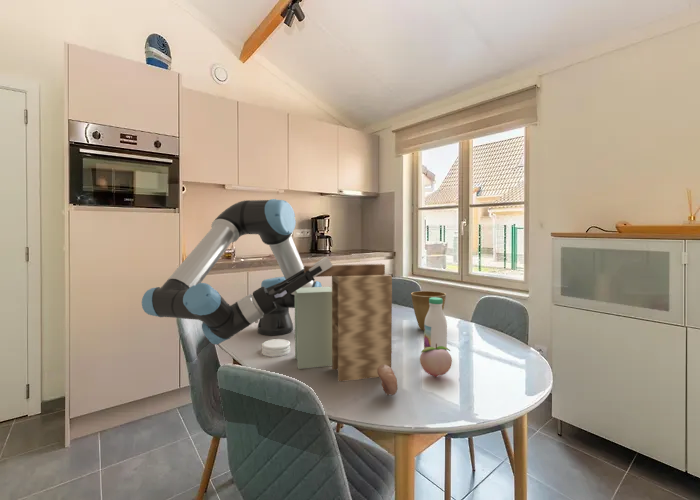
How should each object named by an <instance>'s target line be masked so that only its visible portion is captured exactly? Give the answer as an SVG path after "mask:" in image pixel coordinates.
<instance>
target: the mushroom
mask: <svg viewBox="0 0 700 500" xmlns="http://www.w3.org/2000/svg"><path fill="white" fill-rule="evenodd" d="M377 372H378V375H379V377H378V378H379V379H380V380H381V388H382V390H383V392H384V394H386V396H394V395H395V394H396V393H397V392H398V388H399V387H398V380H397V377H396V375H395V371H394V370H393V368H392V366H391V367H389V366H388V365H381V366H379V367H378V369H377Z"/></svg>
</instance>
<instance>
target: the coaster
mask: <svg viewBox="0 0 700 500" xmlns="http://www.w3.org/2000/svg"><path fill="white" fill-rule="evenodd" d="M289 353H291V342H290V340H288V339H284V338H276V339H275V338H274V339H268V340H266V341H263V343H262V344H261V354H262V355H263V356H265V357H269V358H270V357H272V358H274V357H276V358H278V357H283V356H285V355H288V354H289Z"/></svg>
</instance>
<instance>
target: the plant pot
mask: <svg viewBox="0 0 700 500" xmlns="http://www.w3.org/2000/svg"><path fill="white" fill-rule="evenodd" d="M410 296H411V301H412V302H411V303H412V307H413V312H414V315H415V318H416V322H417V324H418V327H419V329H420V331H422V332H424V322H425V317H426V315H427V313H428V311H429V307H430V305H429V298H432V297H438V298H442V299H443V303H442V304H443V305H442V310H443V311H444V308H445V305H446V304H445V303H446V298H447V297H446V296H447V293H445V292H441V291H433V290H431V291H430V290H421V291H420V290H419V291H413V292H411V293H410Z"/></svg>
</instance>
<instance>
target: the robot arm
mask: <svg viewBox="0 0 700 500" xmlns="http://www.w3.org/2000/svg"><path fill="white" fill-rule="evenodd" d="M296 224H297V223H296V214H295V211H294V209H293V207H292V205H291V204H290V203H289V201H286V200H284V199H276V198H272V199H264V200H263V199H262V200H261V199H257V200H255V199H254V200H253V199H250V200H247V199H246V200H242V201H238V202H236V203H234V204H232V205H231V206H229V207H227V208H226V209H225V210H224V211H222V212H221V213H220V214H219V215H218V216H217V217H216V218H215V219H214V220H213V222H211V225H210V226H211V228H210V230H209V231H208V232H207V233H206V234H205V236H203V238H202V239H201V240H200V241H199V242H198V244H197V245H196V246H195V247H194V249H192V251H191V252H190V253H189V254H188V256H186V258H185V259H184V260H183V261H182V262H181V264H180V265H179V266H178V267H177V268H176V269H175V271H174V272H173V273H172V274H171V276H170V277H169V278H167V280H166V281H165V282H164V283H163V285H162V286H161V287H159V286H158V287H157V286H156V287H151V288H149V289H147V290H146V291H144V294H143V295H142V298H141V308H142V309H143V312H144V313H146V314H147V315H149V316H153V317H157V318H158V317H159V318H175V319H183V320H184V319H187V320H197V321H200V322H202V323H201V329H202V332H203V334H204V336H205V338H206V339H207V340H208V342H210V343H211V344H212V345H219V344H221V343H223V342H225V341H227V340H229V339H231V338H232V337H233V336H235V335H237V334H238V333H240V332H241V331H243V330H245V329H246V328H248V327H249V326H251V325H252V324H254V323H255V324H258V325H257V333H258V334H260V335H263V336H264V335H265V336H280V335H281V336H282V335H286V334H289V333H292V332H293V330H294V322H293V320H292V318H291V314H290V309H295V293H294V291H296V290H298V289H299V288H307V287H323V286H322V283H321V282H320V281H315V278H317V277H316V276H317V275H319V274H321V273H322V272H324V271H325V270H327V269H329V268H330V267H332V266H333V265H334V264H333V263H332V262H331V260H330V258H329V257H327V256H325V257H323V258H322V259H320V260H318V261H316V262H315V263H313V264H312V265H315V266H313V267H312V268H310V269H309V271H306V272H305V273H304V266H305V265H304V264H303V261H302V259H301V255H300V253H299V251H298V249H297V247H296V244H295V241H294V239H293V233H294V230H295V228H296ZM245 235H258V236H259V237H260V239H261V241H262V242H263V243H264V244H265V245H267V246H269V248H270V250H271V252H272V254H273V257H274V258H275V260H276V262H277V265H278V266H279V268H280V271H281V273H282V275H283V276H278V277H276V276H275V277H269V278H266V279H263V280H262V281H261V286H260V287H259V288H257V289H256V290H254V291H253V292H252V293H248V294H247V295H245V296H244V297H242V298H240V299H238V300H236V302H234V303H232V304H231V305H230V304H229V303H228V302H227V301H226V300H225V299H224V298H223V297H222V295H221V294H220V293H219V291H217V289H215V288H214V287H212V286H211V285H210V284H208V283H206V282H203V281H204V279H205V278H206V277H207V276H208V274H209V273H210V271H211V270H213V268H214V267H215V265H216V263H217V262H218V261H219V260H220V258H221V257H222V256H223V254H224V253H225V252H226V250H227V249H228V248H229V246H230V245H231V244H232V243H236V242H237V241H238V240H239V238H240V237H242V236H245Z"/></svg>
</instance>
